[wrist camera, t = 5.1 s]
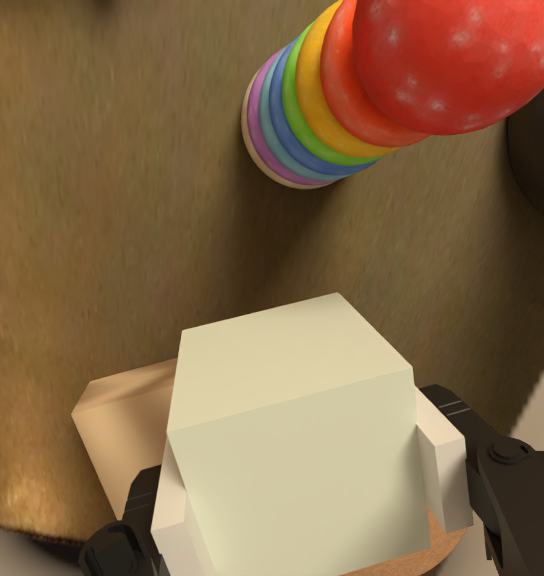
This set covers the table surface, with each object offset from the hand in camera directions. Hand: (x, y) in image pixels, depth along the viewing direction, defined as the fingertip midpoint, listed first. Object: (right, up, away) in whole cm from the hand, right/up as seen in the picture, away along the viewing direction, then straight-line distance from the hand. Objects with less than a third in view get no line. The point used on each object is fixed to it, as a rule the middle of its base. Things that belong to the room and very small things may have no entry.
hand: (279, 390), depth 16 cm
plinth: (-7, -6, +14) cm, 17 cm away
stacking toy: (+2, +14, +10) cm, 17 cm away
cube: (0, 0, 0) cm, 1 cm away
